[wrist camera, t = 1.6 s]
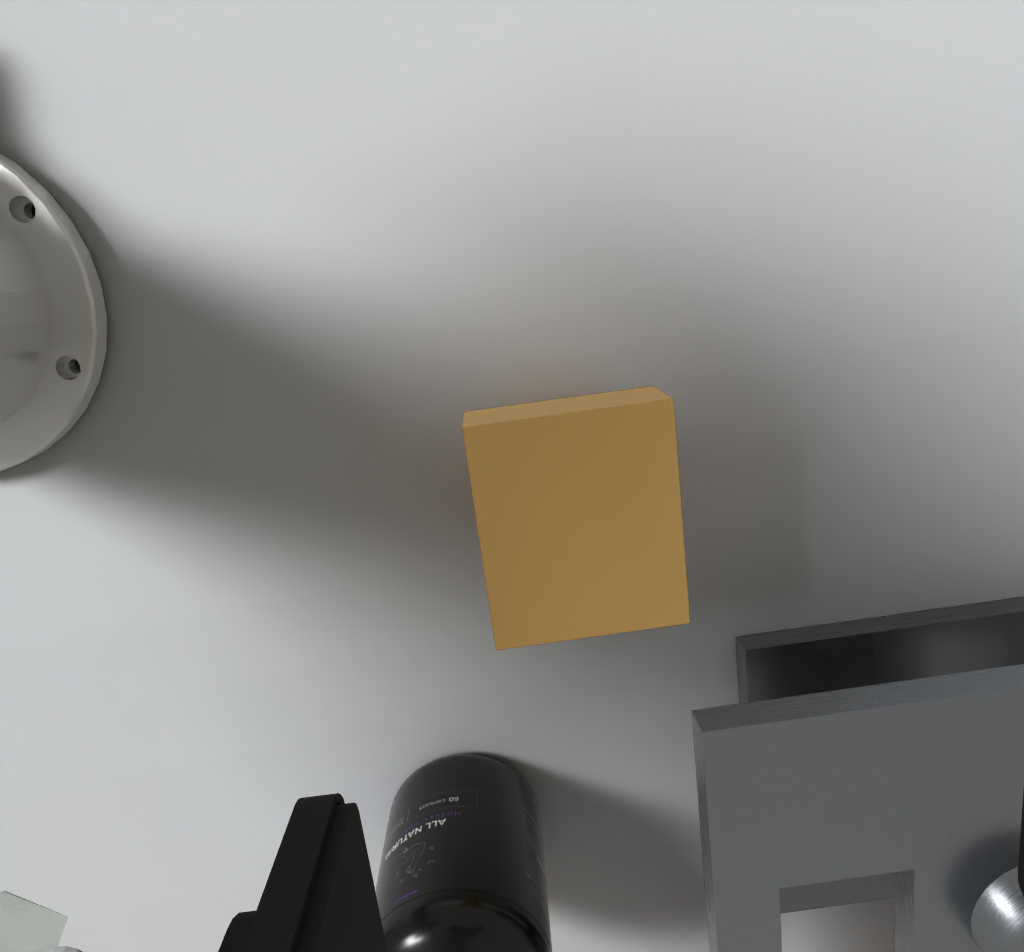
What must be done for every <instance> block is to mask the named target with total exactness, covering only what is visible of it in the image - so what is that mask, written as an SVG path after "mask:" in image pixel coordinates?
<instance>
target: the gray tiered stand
mask: <svg viewBox="0 0 1024 952" xmlns="http://www.w3.org/2000/svg"><path fill="white" fill-rule="evenodd" d="M736 650H737V668H738V686H739V704H735V705H728V706H721V707H714V708H707V709H699V710H692V724H693V737H694V751H695V764H696V777H697V790H698V803H699V817H700V830H701V843H702V856H703V869H704V883H705V896H706V909H707V922H708V935H709V948H710V952H782V946H781V923H780V913H787V912H794V911H801V910H808V909H815V908H822V907H829V906H836V905H843V904H850V903H857V902H864V901H871V900H878V899H885V898H892V897H895V941H894V952H1024V896H1023V894H1022V892H1021V889H1020V886H1019V882H1018V862H1019V847H1020V833H1021V819H1022V805H1023V790H1024V597H1018V598H1011V599H1004V600H997V601H990V602H982V603H975V604H968V605H961V606H954V607H947V608H940V609H932V610H925V611H918V612H911V613H904V614H897V615H889V616H882V617H875V618H868V619H861V620H854V621H846V622H839V623H832V624H825V625H818V626H811V627H804V628H796V629H789V630H782V631H775V632H768V633H761V634H753V635H746V636H739V637H736Z"/></svg>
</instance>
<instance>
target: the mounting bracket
mask: <svg viewBox="0 0 1024 952" xmlns="http://www.w3.org/2000/svg"><path fill="white" fill-rule="evenodd" d="M67 918H68V917H67V916H64V915H62V914H59V913H57V912H55V911H52V910H50V909H47V908H45V907H43V906H40V905H38V904H35V903H33V902H30V901H28V900H26V899H23V898H21V897H18V896H16V895H13V894H11V893H9V892H6V891H0V952H82V951H80V950H78V949H75V948H71V947H67V946H63V947H57V946H58V943H59V941H60V938H61V935H62V932H63V929H64V927H65V924H66V921H67Z"/></svg>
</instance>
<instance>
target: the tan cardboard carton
mask: <svg viewBox="0 0 1024 952" xmlns="http://www.w3.org/2000/svg"><path fill="white" fill-rule="evenodd" d="M462 430H463V436H464V443H465V449H466V456H467V463H468V469H469V476H470V482H471V489H472V496H473V502H474V509H475V515H476V522H477V529H478V535H479V542H480V548H481V555H482V562H483V568H484V575H485V581H486V588H487V595H488V601H489V608H490V614H491V621H492V628H493V634H494V641H495V647H496V650H502V649H509V648H516V647H523V646H530V645H537V644H545V643H552V642H559V641H566V640H573V639H580V638H588V637H595V636H602V635H609V634H616V633H623V632H630V631H638V630H645V629H652V628H659V627H666V626H673V625H681V624H688V623H690V616H689V603H688V589H687V575H686V562H685V548H684V535H683V521H682V508H681V494H680V481H679V467H678V454H677V440H676V427H675V413H674V400H673V398H672V397H670V396H669V395H667V394H666V393H664V392H662V391H661V390H659V389H658V388H656V387H654V386H648V387H641V388H633V389H626V390H619V391H612V392H604V393H597V394H590V395H582V396H575V397H568V398H561V399H553V400H546V401H539V402H531V403H524V404H517V405H510V406H502V407H495V408H488V409H480V410H473V411H466V412H464V415H463V424H462Z"/></svg>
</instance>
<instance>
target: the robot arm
mask: <svg viewBox="0 0 1024 952" xmlns="http://www.w3.org/2000/svg"><path fill="white" fill-rule="evenodd" d="M33 205H34V206H35V216H34V217H33V215H32V213H31V208H32V206H33ZM106 351H107V314H106V308H105V303H104V297H103V291H102V285H101V282H100V280H99V277H98V274H97V271H96V269H95V266H94V263H93V260H92V258H91V255H90V252H89V250H88V249H87V247H86V245H85V243H84V242H83V240H82V238H81V236H80V235H79V233H78V231H77V229H76V228H75V226H74V224H73V222H72V221H71V219H70V218H69V217H68V215H67V214H66V213H65V212H64V211H63V209H62V208H61V207H60V206H59V204H58V203H57V202H56V201H55V199H54V198H53V197H52V196H51V195H50V193H49V192H48V191H47V190H46V189H45V188H44V187H43V186H42V185H40V184H39V183H38V182H37V181H36V180H35V179H34V178H33V177H31V176H30V175H29V174H28V173H27V172H26V171H25V170H24V169H22V168H21V167H20V166H19V165H18V164H16V163H15V162H13V161H11V160H10V159H8V158H7V157H5V156H3V155H2V154H0V471H2V470H4V469H7V468H10V467H12V466H15V465H18V464H20V463H23V462H25V461H26V460H28V459H30V458H32V457H34V456H36V455H38V454H40V453H42V452H44V451H45V450H47V449H49V448H50V447H51V446H52V445H53V444H54V443H56V442H57V441H58V440H59V439H60V438H62V437H63V436H64V435H65V434H66V433H68V432H69V431H70V430H71V428H72V427H73V426H74V424H75V423H76V422H77V420H78V419H79V418H80V417H81V415H82V414H83V413H84V411H85V410H86V409H87V407H88V405H89V403H90V401H91V399H92V396H93V394H94V392H95V390H96V388H97V386H98V383H99V381H100V378H101V373H102V369H103V364H104V360H105V355H106ZM76 360H77V361H78V363H79V365H80V371H79V370H77V368H76V367H75V361H76ZM1018 882H1019V886H1020V889H1021V892H1022V894H1023V896H1024V790H1023V805H1022V819H1021V833H1020V847H1019V862H1018ZM218 952H388V951H387V946H386V941H385V936H384V931H383V926H382V922H381V917H380V912H379V907H378V902H377V897H376V892H375V888H374V883H373V878H372V873H371V868H370V863H369V858H368V853H367V849H366V844H365V839H364V834H363V829H362V824H361V819H360V814H359V810H358V807H357V805H356V803H348V804H345V803H344V799H343V797H342V795H341V794H339V793H337V794H329V795H321V796H314V797H306V798H300V799H299V800H297V802H296V804H295V806H294V809H293V812H292V814H291V817H290V820H289V823H288V825H287V828H286V831H285V834H284V836H283V839H282V842H281V845H280V847H279V850H278V853H277V856H276V858H275V861H274V864H273V867H272V869H271V872H270V875H269V878H268V880H267V883H266V886H265V889H264V891H263V894H262V897H261V900H260V902H259V905H258V908H257V911H250V912H242V913H238V914H237V915H236V916H235V917H234V918H233V919H232V921H231V923H230V925H229V927H228V929H227V931H226V934H225V936H224V939H223V941H222V944H221V946H220V949H219V951H218Z"/></svg>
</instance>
